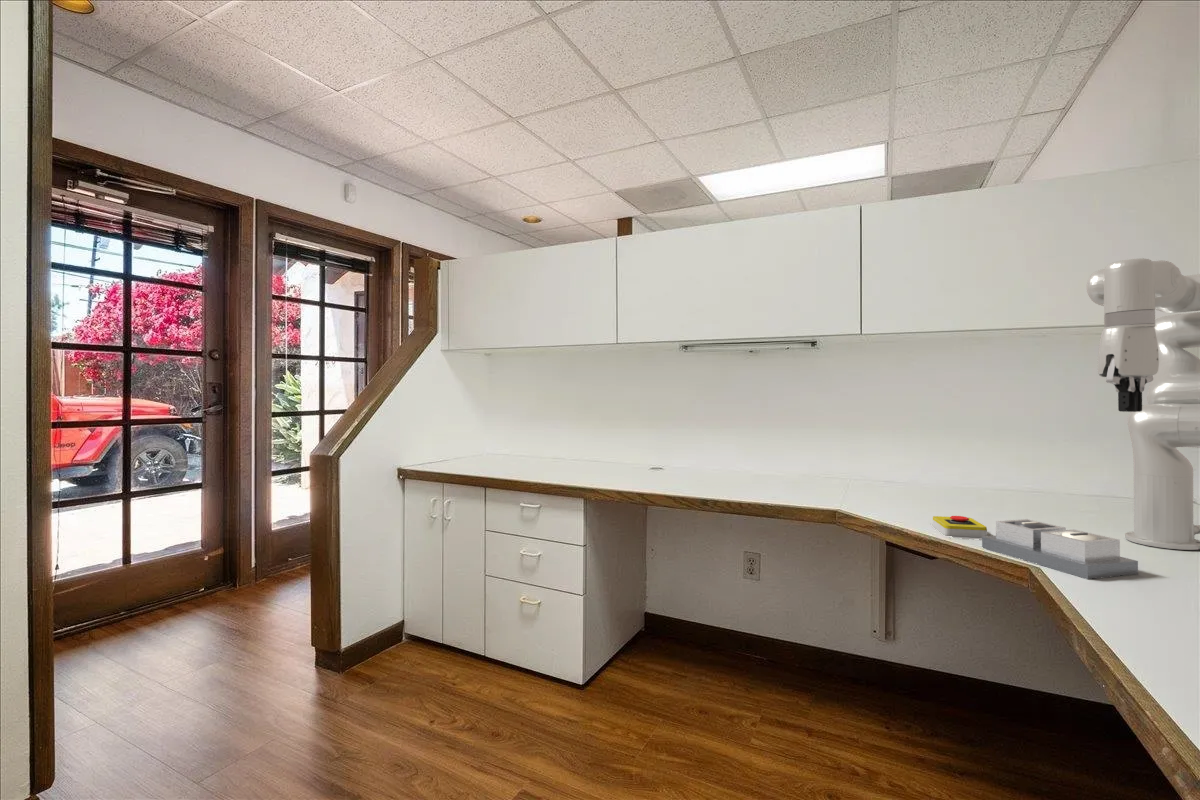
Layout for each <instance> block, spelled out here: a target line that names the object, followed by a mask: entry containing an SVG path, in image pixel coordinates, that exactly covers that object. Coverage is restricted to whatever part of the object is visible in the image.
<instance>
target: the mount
mask: <svg viewBox="0 0 1200 800" xmlns="http://www.w3.org/2000/svg"><path fill="white" fill-rule="evenodd" d="M1015 521H1032V522H1038V523H1042V524H1045V528H1036V529H1031V528H1027V527H1023V526H1018V525H1015ZM1062 532H1081V533H1088V534H1092V535H1095V536H1097V540H1088V541H1082V540H1078V539H1074V538H1069V537H1065V536H1062ZM1120 540H1121V539H1119V538H1113V537H1111V536H1106V535H1100V534H1096V533H1092V532H1086V531H1082V530H1077V529H1067V527H1064V526H1061V525H1056V524H1051V523H1045V522H1041V521H1037V520H1033V519H1028V518H1025V519H1024V518H1023V519H1012V520H1011V519H1010V520H996V521H995V535H989V536H988V535H987V536H984V537H982V540H981V548H982V547H983V548H982V549H984V548H986V549H985V550H988V549H989V550H988V551H991V550H992V551H991V552H994V551H995V552H994V553H998V552H999V553H998V554H1001V553H1002V555H1005V554H1006V555H1005V556H1008V555H1009V556H1008V557H1011V556H1013V557H1012V558H1015V557H1016V558H1015V559H1018V558H1020V559H1019V560H1021V559H1023V560H1022V561H1025V560H1027V561H1026V562H1028V561H1030V562H1029V563H1031V562H1034V563H1033V564H1035V563H1037V564H1036V565H1038V564H1039V566H1042V565H1043V566H1042V567H1045V566H1046V568H1048V567H1049V568H1048V569H1052V570H1055V571H1058V570H1059V571H1060V572H1061V573H1062V572H1063V573H1065V572H1066V574H1068V573H1070V574H1069V575H1072V574H1073V576H1075V575H1076V577H1079V576H1080V577H1079V578H1082V577H1083V578H1082V579H1085V578H1087V580H1093V579H1092V578H1096V579H1102V578H1101V577H1105V578H1111V577H1110V576H1115V577H1121V576H1120V575H1125V576H1131V575H1130V574H1135V575H1139V560H1135V559H1131V558H1128V557H1123V556H1121V553H1120V552H1121V546H1120V545H1121V541H1120ZM1059 571H1058V572H1059Z"/></svg>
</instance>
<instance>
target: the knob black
mask: <svg viewBox="0 0 1200 800" xmlns="http://www.w3.org/2000/svg"><path fill="white" fill-rule="evenodd" d="M1038 522H1039V521H1037V522H1032V521H1015V525H1018V526H1023V527H1027V528H1031V529H1036V528H1045V524H1042V523H1043V522H1042V523H1038Z"/></svg>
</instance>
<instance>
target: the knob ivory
mask: <svg viewBox="0 0 1200 800" xmlns="http://www.w3.org/2000/svg"><path fill="white" fill-rule="evenodd" d="M1088 533H1089V532H1087V533H1081V532H1062V536H1065V537H1069V538H1074V539H1078V540H1082V541H1088V540H1097V536H1095V535H1092V534H1093V533H1092V534H1088Z"/></svg>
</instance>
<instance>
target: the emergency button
mask: <svg viewBox="0 0 1200 800" xmlns="http://www.w3.org/2000/svg"><path fill="white" fill-rule="evenodd" d="M931 524H932V526H933V527H934V528H935V529H937V530H938V531H939V532H941V533H942V534H943V535H945V536H952V537H953V538H962V539H961V540H969V539H979V540H978V541H982V537H984V536H988V529H987V526H986V525H984V524H983V523H981V522H979V521H977V520H975V519H974V518H971V517H967V516H963V515H962V516H961V515H951V516H939V515H937V516H936V515H934V516H932V522H931ZM932 526H931V527H932ZM933 527H932V528H933ZM934 528H933V529H934ZM935 529H934V530H935ZM937 530H936V531H937ZM938 531H937V532H938ZM939 532H938V533H939ZM941 533H940V534H941ZM942 534H941V535H942ZM943 535H942V536H943Z"/></svg>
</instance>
